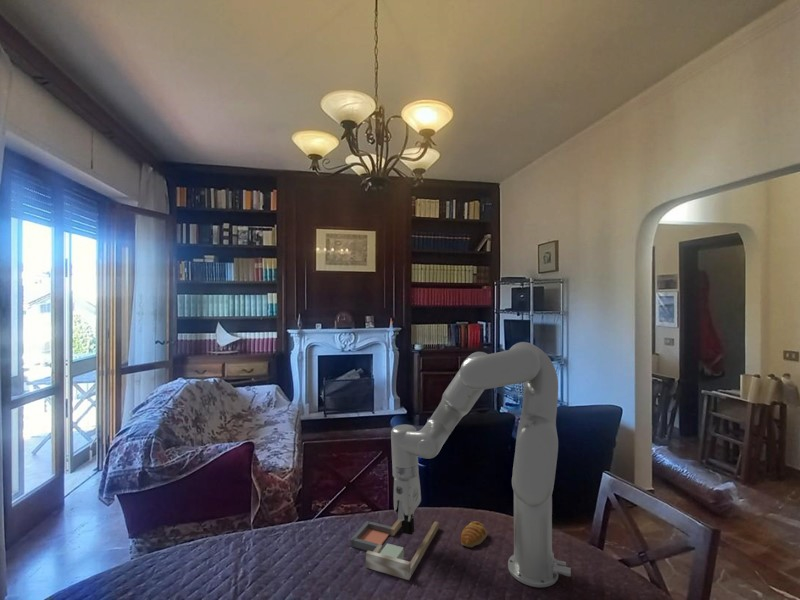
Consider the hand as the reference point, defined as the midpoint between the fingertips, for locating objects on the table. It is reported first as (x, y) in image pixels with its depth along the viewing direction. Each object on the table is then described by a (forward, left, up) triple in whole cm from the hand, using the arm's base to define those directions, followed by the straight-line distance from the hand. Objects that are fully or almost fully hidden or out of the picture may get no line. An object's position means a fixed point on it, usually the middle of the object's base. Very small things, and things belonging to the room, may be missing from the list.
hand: (408, 532), depth 117 cm
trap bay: (+11, +1, -4) cm, 12 cm away
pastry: (-17, -11, -5) cm, 21 cm away
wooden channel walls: (+1, 0, -4) cm, 4 cm away
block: (+1, +9, -4) cm, 10 cm away
